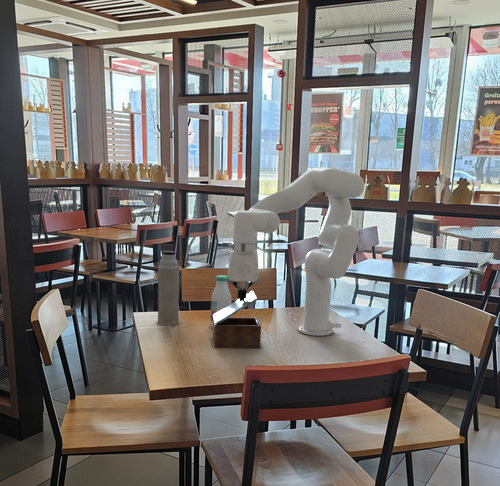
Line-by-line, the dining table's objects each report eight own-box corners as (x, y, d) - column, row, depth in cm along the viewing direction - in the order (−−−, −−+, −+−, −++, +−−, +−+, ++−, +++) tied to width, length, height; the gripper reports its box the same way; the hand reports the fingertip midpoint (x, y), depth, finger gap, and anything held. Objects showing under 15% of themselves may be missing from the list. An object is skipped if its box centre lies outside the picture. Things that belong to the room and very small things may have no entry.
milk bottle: (231, 325, 223) (233, 274, 219) (229, 330, 216) (231, 278, 211) (212, 324, 224) (213, 273, 219) (209, 329, 216) (210, 277, 212)
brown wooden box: (255, 338, 207) (256, 317, 206) (260, 347, 196) (261, 325, 195) (212, 338, 205) (213, 317, 204) (214, 347, 194) (215, 325, 193)
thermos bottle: (155, 324, 220) (155, 252, 213) (161, 319, 227) (161, 249, 221) (175, 326, 219) (176, 253, 212) (180, 321, 226) (181, 250, 220)
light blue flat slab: (253, 292, 203) (252, 290, 203) (257, 299, 193) (256, 297, 192) (214, 316, 204) (212, 314, 203) (215, 325, 193) (214, 323, 193)
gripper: (222, 248, 189) (220, 302, 193) (267, 249, 191) (264, 303, 195) (221, 245, 196) (219, 297, 200) (264, 246, 198) (261, 298, 202)
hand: (241, 300), depth 198 cm, fingers closed
